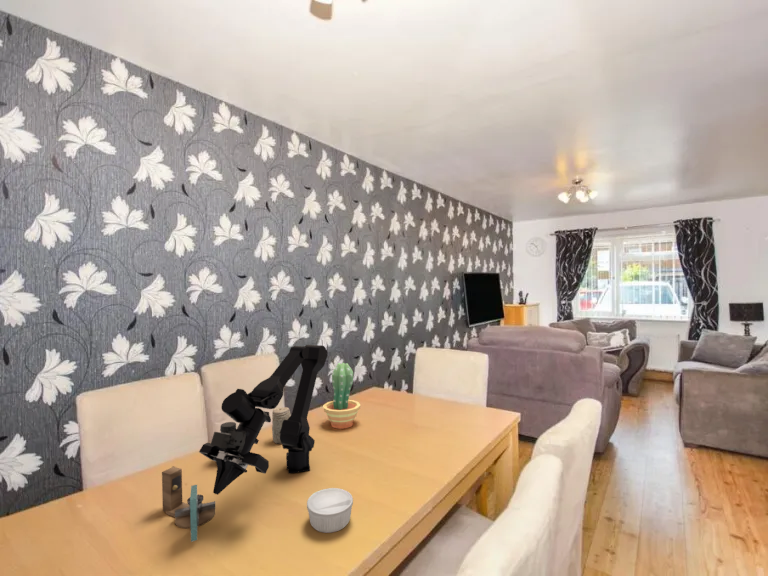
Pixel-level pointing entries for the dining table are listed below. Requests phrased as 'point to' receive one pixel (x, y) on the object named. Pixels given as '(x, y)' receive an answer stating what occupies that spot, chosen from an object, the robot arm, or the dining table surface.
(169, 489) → the stand
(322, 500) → the ramekin
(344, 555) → the dining table surface
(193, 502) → the turnstile
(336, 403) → the potted cactus
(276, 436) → the beige piece
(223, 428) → the supplement bottle
